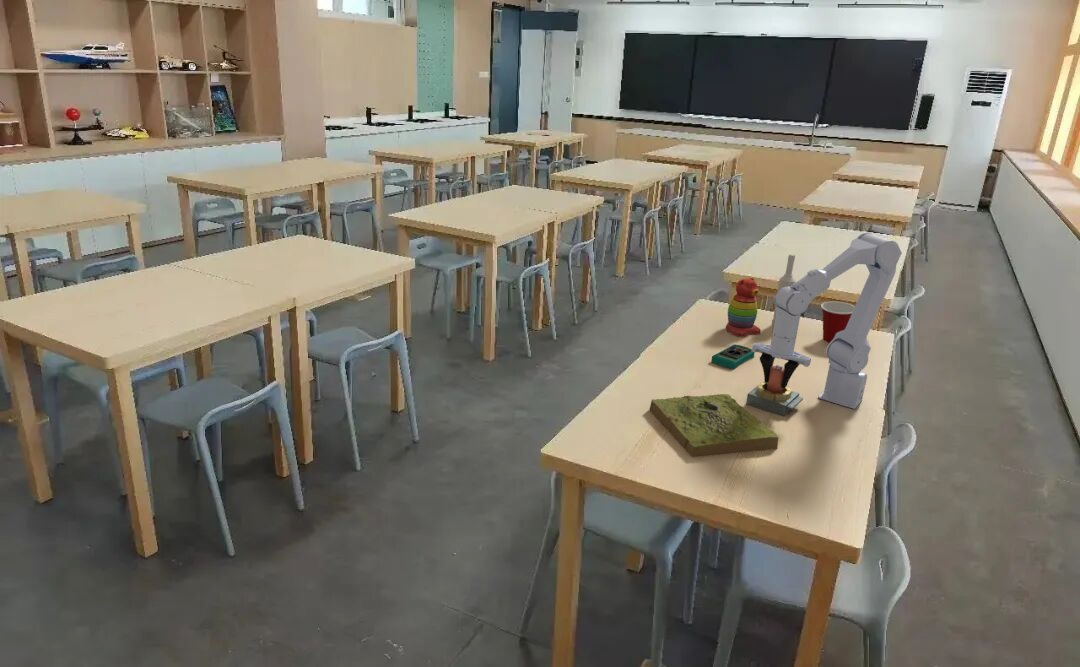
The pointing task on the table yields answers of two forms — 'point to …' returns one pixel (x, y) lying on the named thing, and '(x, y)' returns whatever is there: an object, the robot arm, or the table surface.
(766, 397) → the stone well model
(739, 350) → the digital multimeter
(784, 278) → the bottle
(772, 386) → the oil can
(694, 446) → the miniature landscape model
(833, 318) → the plastic cup
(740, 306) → the stacking bear
